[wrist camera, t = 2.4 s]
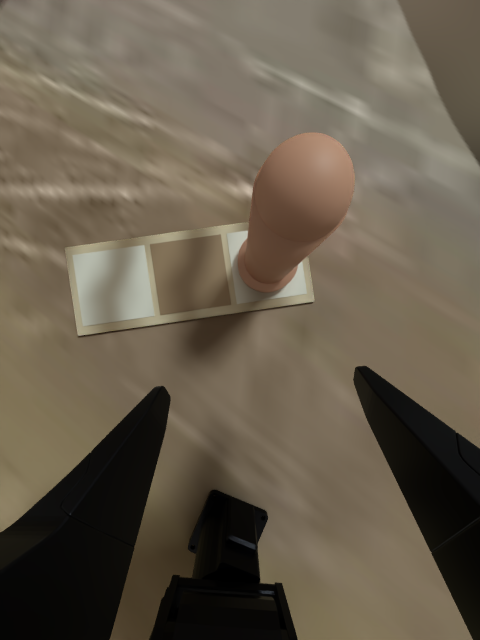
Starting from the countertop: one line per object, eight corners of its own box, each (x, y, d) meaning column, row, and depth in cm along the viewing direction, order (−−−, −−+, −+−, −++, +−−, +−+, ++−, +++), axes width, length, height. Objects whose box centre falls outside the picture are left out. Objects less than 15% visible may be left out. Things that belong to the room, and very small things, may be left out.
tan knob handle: (281, 301, 22) (362, 266, 8) (228, 278, 22) (212, 201, 8) (304, 248, 22) (426, 117, 8) (251, 225, 22) (276, 51, 8)
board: (301, 215, 22) (302, 214, 22) (313, 301, 22) (314, 301, 22) (67, 248, 22) (64, 247, 22) (80, 335, 22) (77, 335, 22)
